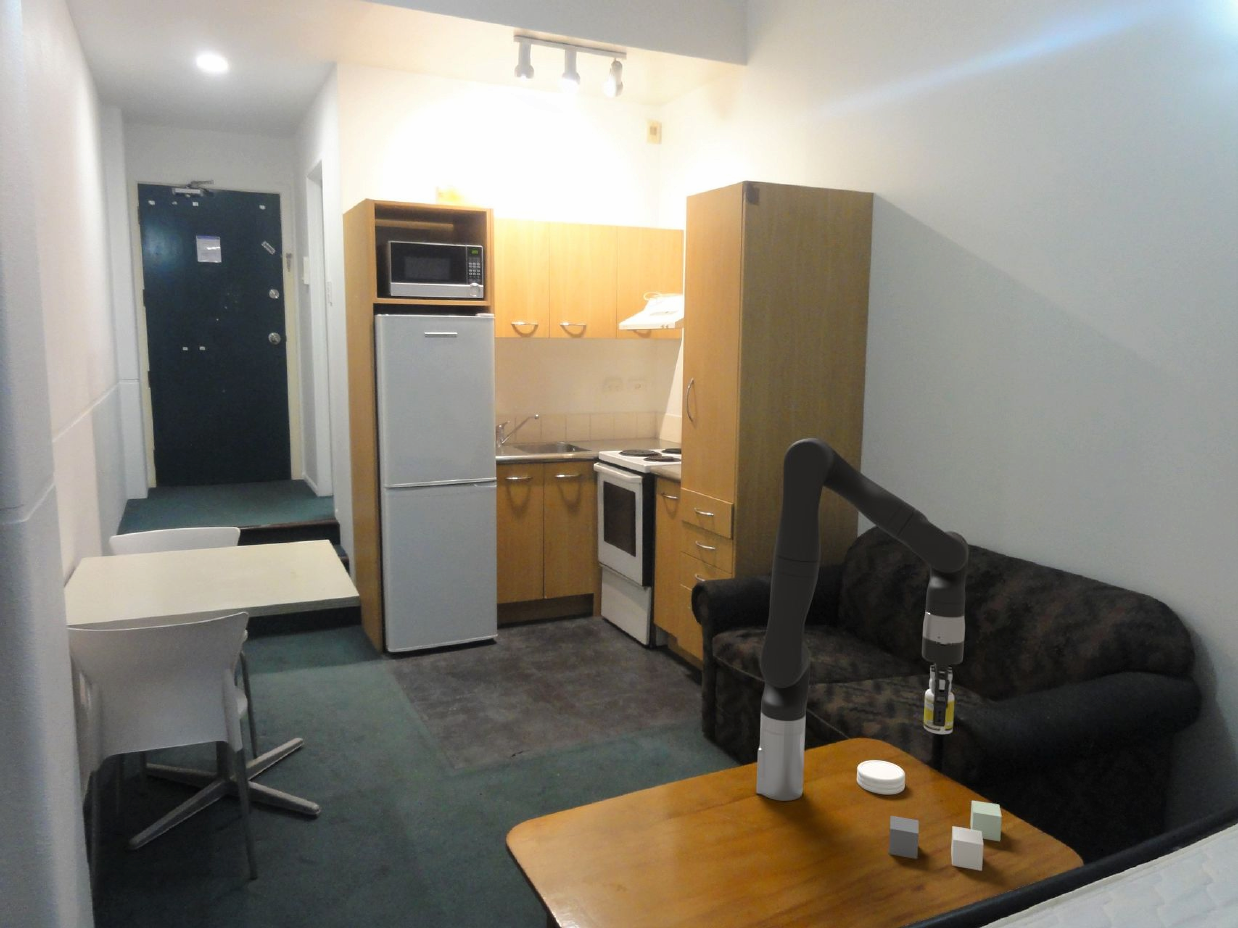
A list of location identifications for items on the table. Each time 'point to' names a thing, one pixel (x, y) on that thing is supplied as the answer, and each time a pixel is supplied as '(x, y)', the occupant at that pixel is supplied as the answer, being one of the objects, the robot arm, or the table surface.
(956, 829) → the pale grey block
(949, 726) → the supplement bottle
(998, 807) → the sage block
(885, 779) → the coaster
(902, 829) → the medium grey block
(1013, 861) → the table surface
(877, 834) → the table surface
